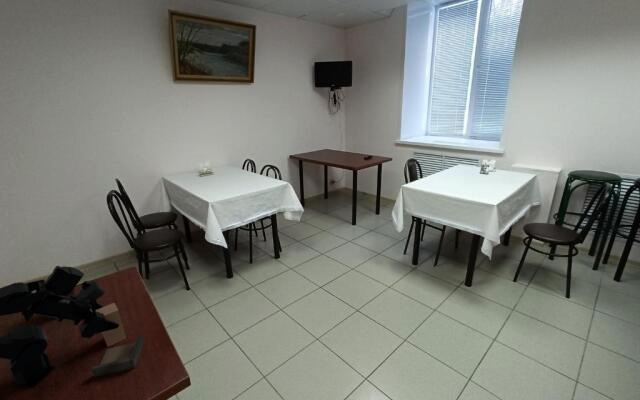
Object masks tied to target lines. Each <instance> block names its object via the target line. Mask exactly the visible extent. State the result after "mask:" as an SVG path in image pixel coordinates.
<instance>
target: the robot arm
mask: <svg viewBox="0 0 640 400" xmlns="http://www.w3.org/2000/svg"><path fill="white" fill-rule="evenodd" d="M84 276H85V273H84V272H83V271H81V270H79V269H77V268H75V267H73V266H60V265H56V266H55V267H54V268H53V270H52V272H51V273H50V275H49V276H48V277H47V279H39V280H34V281H30V282H26V283H24V282H21V281H20V282H15V283H11V284H9V285H5V286H2V287H0V317H2V316H9V315H13V314H14V315H15V314H18V313H21V315H22V316H23V317H24V322H29V321H30V320H31V318H32V317H33V316H34V315H40V316H45V317H49V318H52V319H53V318H55V319H56V321H57V322H59V323H62V322H63V321H70V322H72V324H73V325H74V326H78V325H79V323H80V322H82V323H81V324H80V325H79V327H78V330H79V333H80V335H81V338H82V339H89V340H90V339H92V337H94V336H95V335H97V334H100V333H102V332H104V331H108V330H112V329H116V328H118V327H119V324H117V323H115V322H113V321H110V320H107V319H105V316H104V314H103V313H102V314H101V313H100V312H97V311H96V310H97V309H100V308H102V307H105V306H106V305H103V304H102V303H100V302H98V301H97V300H98V299H100V298H102V297H103V296H104V295H105V294H106V291H105V290H104V287H103V286H101V285H100V284H98V282H97V281H94V280H92V281H89V280H85V281H83V282H82V283H81V284H80V286H81V289H82V290H81V289H80V290H79V293H78V294H77V295H76V294H75V295H69V296H68V297H65V296H63V295H67V294H69V293H71V292H72V290H73V289H74V290H75V288H76V286H77V285H78V284H79V283H80V282H81V280H82V279H83V277H84ZM34 291H35V292H34ZM46 334H47V333H46V331H45V329H44V328H43V327H41V326H39V325H33V323H32V324H29V325H24V326H12V327H11V332H9V333H7V334H5V335H3V336H0V359H3V360H9V370H10V372H11V375H12V377H13V378H14V381H13V382H11V386H12V387H21V388H22V387H23V388H34V387H36V386H37V385H38V384H39V383H40V382H41V381H42V380H43V379H45V377H46V376H47V375H49V373H51V372H52V371H53V370H54V369H55V368H56V366H55V365H51V361H50V358H49V357H48V353H47V352H45V350H47V347H48V339H47V335H46Z"/></svg>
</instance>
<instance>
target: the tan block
mask: <svg viewBox="0 0 640 400" xmlns="http://www.w3.org/2000/svg"><path fill="white" fill-rule="evenodd" d="M104 306H105V307H102V308H100V309H97V310H96V311H97V312H100V313H101V314H102V313H103V314H104V316H105V319H107V320H110V321H113V322H115V323H117V324H119V327H118V328H116V329H112V330H108V331H104V332H101V333H102V336H103V339H104V342H105V344H106V346H107V348H109V347H110V346H113V345H115V344H117V343H120V342H122V341H123V340H125V339H127V337H126V332H125V328H124V326H123V322H122V317H121V315H120V311H119V308H118V307H117V305H116V303H115V302H112V303H110V304H108V305H104Z"/></svg>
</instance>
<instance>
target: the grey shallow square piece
mask: <svg viewBox="0 0 640 400" xmlns="http://www.w3.org/2000/svg"><path fill="white" fill-rule="evenodd" d="M143 346H144V336H143V334H139V335H138V336H137V338H136V341H135V342H133V343H129V344H124V345H120V346H119V345H118V346H115V347H110V348H109V347H108V348H107V349H106V350H105V352H104V354H103V357H102V359H101V360H100V363H99V364H97V365H94V366H92V368H91V371H92V375H93V377H94V378H97V377H102V376H106V375H110V374H114V373H118V372H123V371H127V370H132V369H136V366H137V364H138V360H139V358H140V356H141V352H142V349H143Z"/></svg>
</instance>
